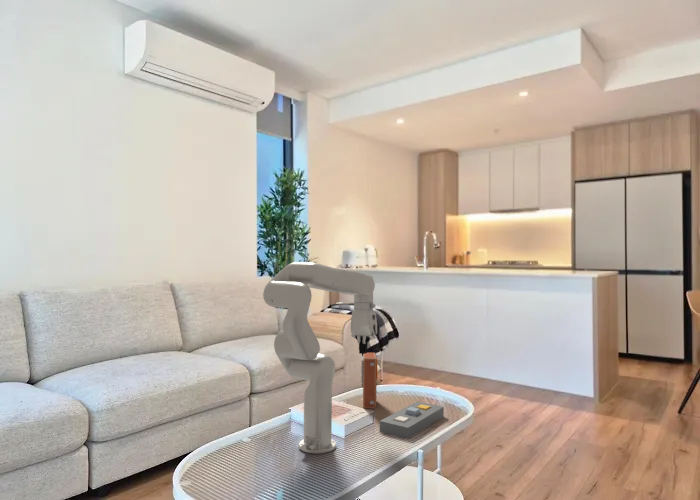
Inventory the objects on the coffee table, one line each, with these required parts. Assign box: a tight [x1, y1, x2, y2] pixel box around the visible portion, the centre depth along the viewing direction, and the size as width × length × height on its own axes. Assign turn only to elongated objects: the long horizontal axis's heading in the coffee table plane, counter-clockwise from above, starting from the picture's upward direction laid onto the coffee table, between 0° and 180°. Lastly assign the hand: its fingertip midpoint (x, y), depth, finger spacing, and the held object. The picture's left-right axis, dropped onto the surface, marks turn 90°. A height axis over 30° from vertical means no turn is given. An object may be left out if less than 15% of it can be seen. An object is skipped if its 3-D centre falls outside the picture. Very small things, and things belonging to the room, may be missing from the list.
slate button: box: [406, 407, 420, 416], centre depth 188 cm, size 4×4×3 cm
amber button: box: [417, 404, 430, 410], centre depth 196 cm, size 4×4×3 cm
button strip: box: [379, 401, 445, 440], centre depth 188 cm, size 30×12×4 cm, turn 145°
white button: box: [394, 416, 409, 423], centre depth 181 cm, size 4×4×3 cm
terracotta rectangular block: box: [360, 352, 378, 409], centre depth 213 cm, size 21×7×15 cm
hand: (363, 353), depth 190 cm, fingers closed
